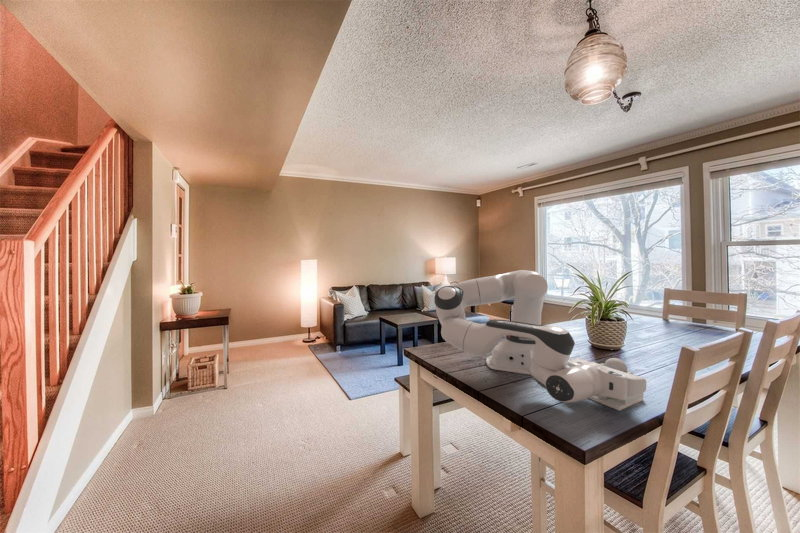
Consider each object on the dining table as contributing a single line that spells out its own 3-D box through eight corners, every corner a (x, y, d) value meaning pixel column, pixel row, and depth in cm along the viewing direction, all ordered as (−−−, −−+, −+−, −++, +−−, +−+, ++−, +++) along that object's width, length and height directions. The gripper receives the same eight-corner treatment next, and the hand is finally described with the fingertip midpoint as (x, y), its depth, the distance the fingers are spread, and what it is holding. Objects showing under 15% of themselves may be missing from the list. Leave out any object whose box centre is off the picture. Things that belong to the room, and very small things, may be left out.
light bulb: (599, 385, 98) (600, 355, 97) (616, 385, 98) (617, 355, 98) (613, 394, 92) (614, 361, 91) (631, 393, 92) (632, 361, 92)
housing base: (619, 410, 86) (619, 398, 86) (582, 395, 96) (582, 384, 96) (643, 400, 93) (643, 388, 93) (606, 386, 102) (606, 376, 102)
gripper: (558, 376, 98) (583, 369, 104) (630, 403, 80) (655, 392, 86) (559, 357, 98) (584, 351, 104) (631, 379, 80) (656, 370, 86)
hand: (617, 370), depth 95 cm, fingers closed on light bulb, 6 cm apart
